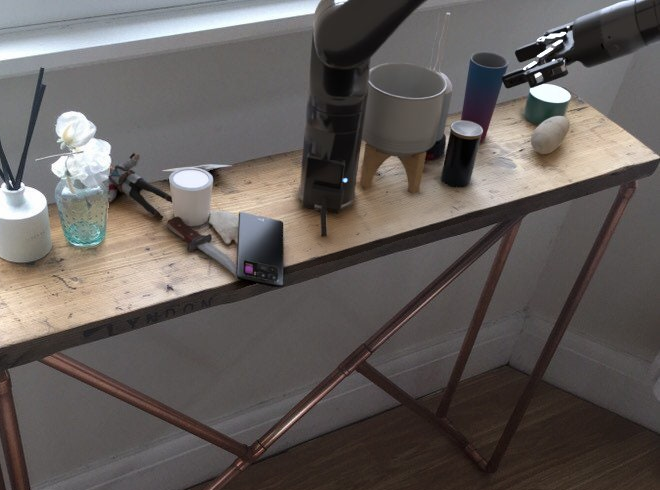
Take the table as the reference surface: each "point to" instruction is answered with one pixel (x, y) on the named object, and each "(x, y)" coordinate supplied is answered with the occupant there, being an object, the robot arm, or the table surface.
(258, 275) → the smartphone
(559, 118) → the stone
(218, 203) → the table surface
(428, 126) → the planter
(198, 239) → the knife
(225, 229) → the arrowhead
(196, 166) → the diorama
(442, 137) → the white tall piece
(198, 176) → the white cylinder
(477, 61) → the cup
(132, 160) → the action figure
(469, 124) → the tall tin
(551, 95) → the squat tin
